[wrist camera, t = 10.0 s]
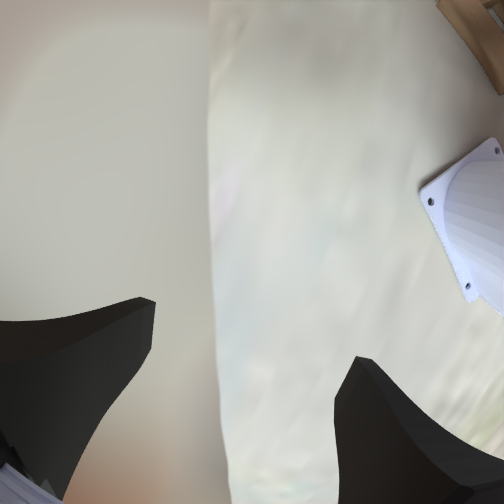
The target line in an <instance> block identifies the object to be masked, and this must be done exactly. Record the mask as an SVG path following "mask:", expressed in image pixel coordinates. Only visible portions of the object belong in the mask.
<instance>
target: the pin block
mask: <svg viewBox="0 0 504 504" xmlns="http://www.w3.org/2000/svg"><path fill="white" fill-rule="evenodd" d="M436 6H437V8H438V9H439V10H440V11H441V12H442V13H443V15H444V16H445V17H446V18H447V19H448V21H449V22H450V23H451V24H452V26H453V27H454V28H455V29H456V31H457V32H458V33H459V34H460V36H461V37H462V38H463V40H464V41H465V43H466V44H467V45H468V47H469V48H470V50H471V51H472V52H473V54H474V55H475V57H476V58H477V60H478V61H479V63H480V64H481V66H482V67H483V69H484V70H485V72H486V74H487V75H488V77H489V78H490V80H491V82H492V83H493V85H494V87H495V89H496V90H497V92H498V94H499V95H502V94H504V33H503V31H502V30H501V29H500V27H499V26H498V24H497V23H496V22H495V20H494V19H493V18H492V16H491V15H490V14H489V12H488V11H487V10H486V9H489V8H491V7H492V8H493V10H494V11H495V12H496V14H497V15H498V16H499V18H500V19H501V20H502V22H503V23H504V0H441V1H440V2H439V3H438V4H437V5H436Z"/></svg>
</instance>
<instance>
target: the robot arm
mask: <svg viewBox="0 0 504 504" xmlns="http://www.w3.org/2000/svg"><path fill="white" fill-rule="evenodd" d="M495 148H496V149H497V154H496V153H495ZM419 198H420V200H421V202H422V204H423V205H424V207H425V209H426V211H427V213H428V215H429V217H430V219H431V221H432V223H433V225H434V227H435V229H436V231H437V233H438V235H439V237H440V239H441V242H442V244H443V246H444V248H445V250H446V253H447V255H448V257H449V259H450V262H451V264H452V266H453V269H454V271H455V274H456V276H457V279H458V281H459V284H460V286H461V289H462V291H463V294H464V297H465V299H466V300H467V301H468V302H473V301H474V300H476V299H477V298H478V297H481V298H482V299H483V300H484V301H485V302H487V303H488V304H489V305H490V306H491V307H493V308H494V309H495V310H496V311H497V312H498V313H499V314H501V315H502V316H503V317H504V153H503V151H502V149H501V147H500V145H499V143H498V141H497V139H496V138H493V137H492V138H489V139H487V140H486V141H485V142H483V143H482V144H481V145H479V146H478V147H477V148H475V149H474V150H473V151H472V152H470V153H469V154H468V155H466V156H465V157H464V158H462V159H461V160H460V161H458V162H457V163H456V164H454V165H453V166H451V167H450V168H449V169H447V170H446V171H445V172H443V173H442V174H441V175H439V176H438V177H436V178H435V179H434V180H432V181H431V182H430V183H428V184H427V185H425V186H424V187H423V188H421V190H420V192H419ZM429 198H431V199H432V203H431V205H428V199H429ZM467 283H469V285H468V286H467V287H466V284H467ZM155 305H156V302H154V301H151V300H148V299H145V298H143V297H138V298H133V299H129V300H126V301H123V302H119V303H116V304H113V305H110V306H106V307H103V308H100V309H96V310H92V311H88V312H84V313H80V314H76V315H72V316H67V317H61V318H55V319H47V320H36V321H0V504H65V503H64V502H62V500H63V497H64V494H65V492H66V489H67V487H68V484H69V482H70V480H71V477H72V475H73V473H74V471H75V468H76V466H77V464H78V462H79V460H80V458H81V455H82V454H83V452H84V450H85V448H86V446H87V444H88V442H89V440H90V438H91V437H92V435H93V433H94V431H95V430H96V428H97V426H98V424H99V423H100V421H101V419H102V418H103V416H104V415H105V413H106V412H107V410H108V409H109V407H110V406H111V405H112V404H113V402H114V401H115V400H116V399H117V397H118V396H119V395H120V394H121V392H122V391H123V390H124V388H125V387H126V386H127V385H128V383H129V382H130V381H131V379H132V378H133V377H134V376H135V374H136V373H137V372H138V370H139V369H140V367H141V366H142V364H143V362H144V361H145V359H146V357H147V355H148V353H149V351H150V350H151V345H152V334H153V323H154V314H155ZM334 427H335V437H336V446H337V455H338V465H339V500H338V504H504V460H502V459H500V458H497V457H494V456H491V455H489V454H487V453H485V452H483V451H481V450H479V449H476V448H474V447H473V446H471V445H469V444H467V443H465V442H464V441H462V440H461V439H459V438H457V437H456V436H454V435H453V434H451V433H450V432H448V431H447V430H445V429H444V428H443V427H441V426H440V425H439V424H438V423H436V422H435V421H434V420H433V419H431V418H430V417H429V416H428V415H427V414H425V413H424V412H423V411H422V410H421V409H420V408H419V407H418V406H417V405H416V404H415V403H414V402H413V401H412V400H411V399H410V398H409V397H408V396H407V395H406V394H405V393H404V392H403V391H402V390H401V389H400V388H399V387H398V386H397V385H396V384H395V383H394V382H393V381H392V379H391V378H390V377H389V376H388V375H387V374H386V373H385V372H384V371H383V370H382V369H381V368H380V367H379V366H378V365H377V364H376V363H375V362H374V361H373V360H372V359H368V358H363V357H358V356H356V357H355V359H354V361H353V363H352V365H351V367H350V369H349V371H348V373H347V375H346V377H345V379H344V381H343V383H342V385H341V387H340V389H339V391H338V393H337V395H336V397H335V402H334Z"/></svg>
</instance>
